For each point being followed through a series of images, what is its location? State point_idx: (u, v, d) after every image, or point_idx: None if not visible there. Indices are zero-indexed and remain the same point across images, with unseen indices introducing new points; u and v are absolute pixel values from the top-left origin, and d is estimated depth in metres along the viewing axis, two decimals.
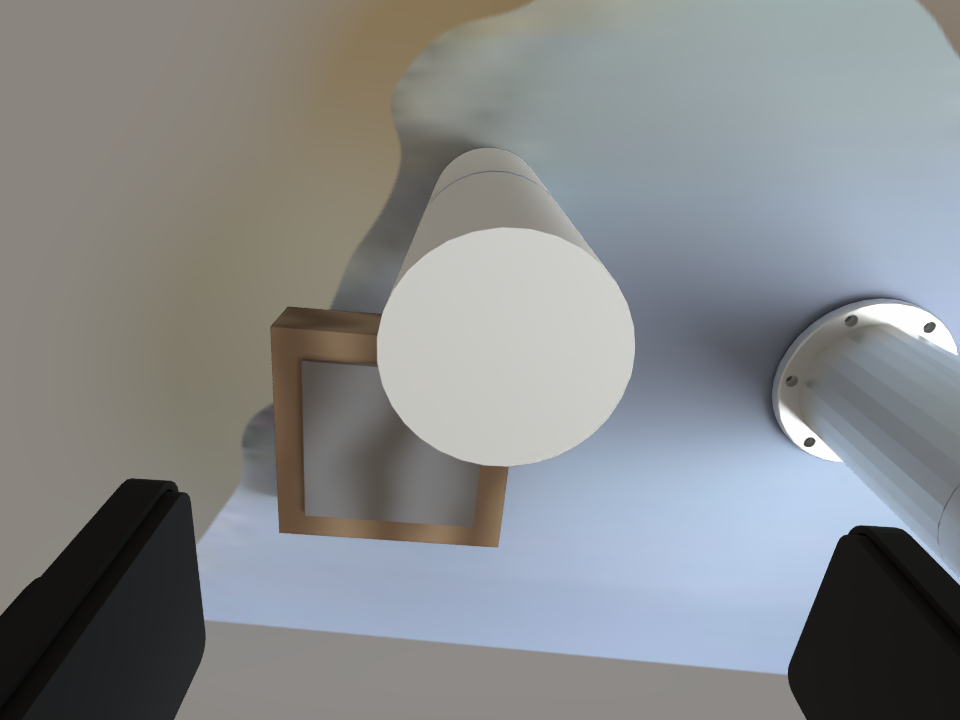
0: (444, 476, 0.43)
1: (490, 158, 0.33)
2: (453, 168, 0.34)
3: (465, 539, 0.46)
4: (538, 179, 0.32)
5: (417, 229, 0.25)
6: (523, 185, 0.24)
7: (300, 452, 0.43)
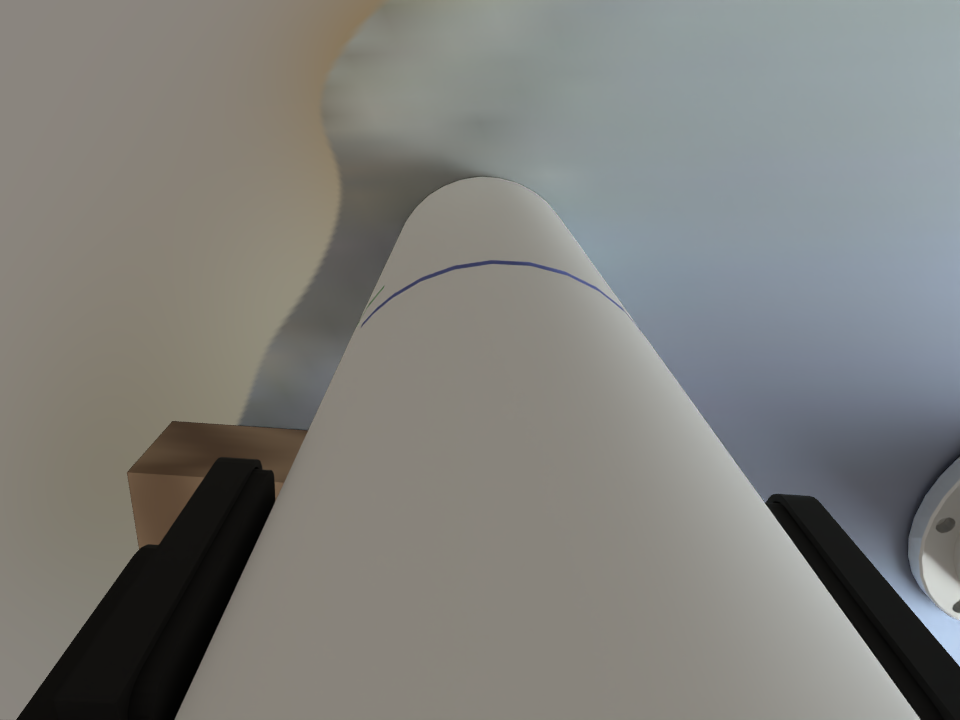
0: None
1: (489, 209, 0.17)
2: (421, 224, 0.18)
3: None
4: (580, 249, 0.17)
5: (304, 440, 0.09)
6: (584, 333, 0.09)
7: None
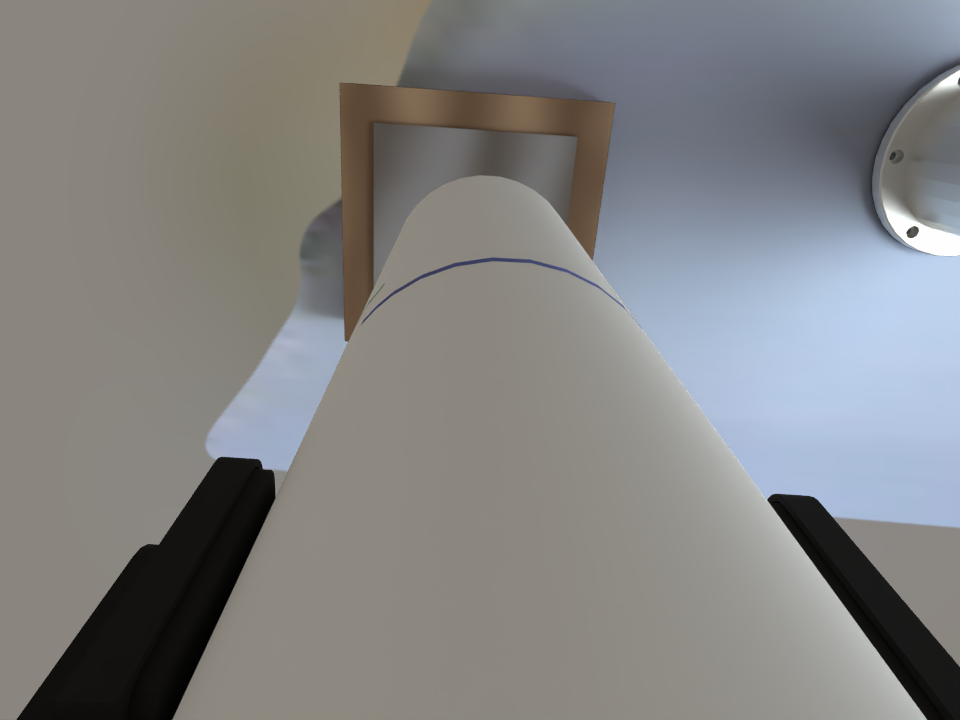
0: None
1: (489, 207, 0.17)
2: (421, 223, 0.18)
3: None
4: (581, 247, 0.17)
5: (304, 437, 0.09)
6: (585, 330, 0.09)
7: (369, 240, 0.39)
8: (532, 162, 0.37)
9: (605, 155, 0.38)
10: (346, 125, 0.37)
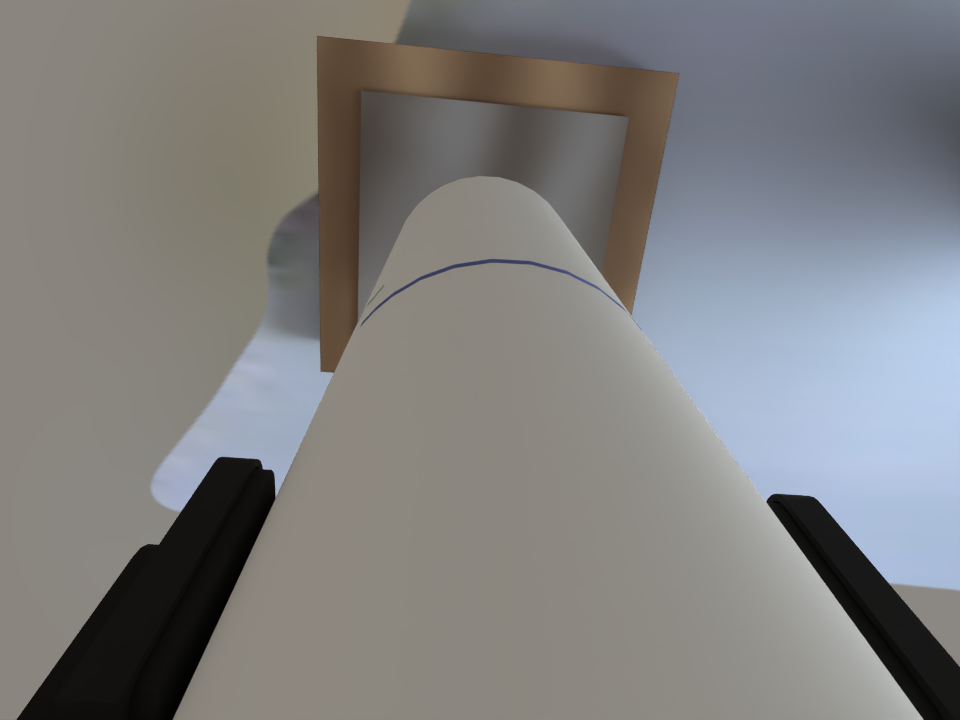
0: None
1: (489, 208, 0.17)
2: (421, 224, 0.18)
3: None
4: (580, 248, 0.17)
5: (303, 439, 0.09)
6: (585, 332, 0.09)
7: (354, 245, 0.31)
8: (568, 149, 0.29)
9: (662, 142, 0.29)
10: (325, 93, 0.28)
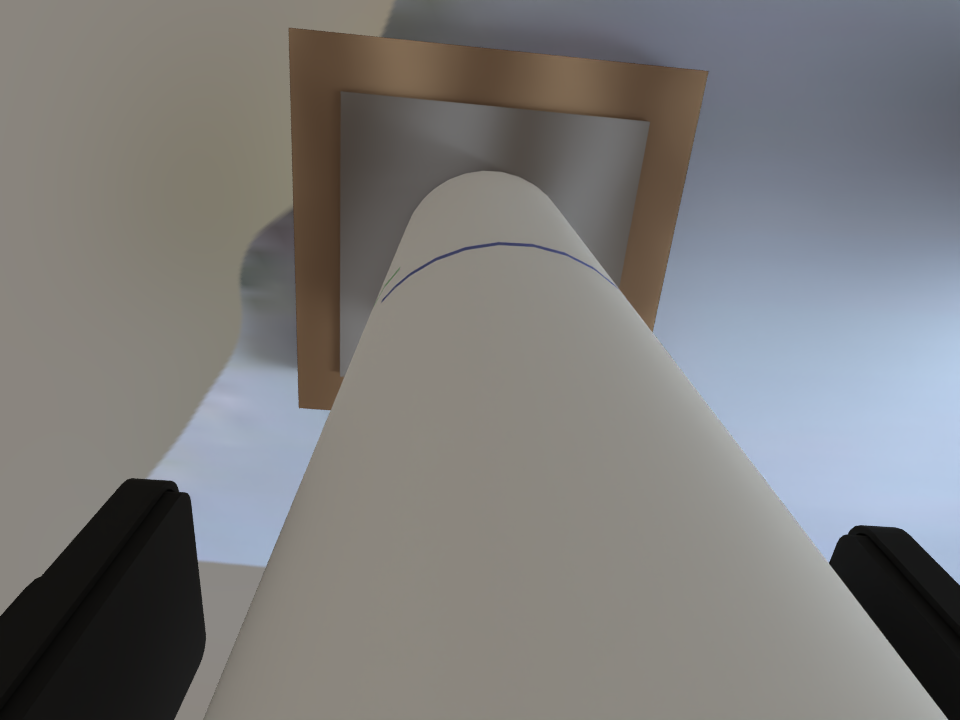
0: None
1: (494, 199, 0.19)
2: (430, 214, 0.20)
3: None
4: None
5: (338, 395, 0.11)
6: (582, 300, 0.10)
7: (334, 267, 0.27)
8: (580, 159, 0.25)
9: (688, 150, 0.25)
10: (299, 95, 0.24)
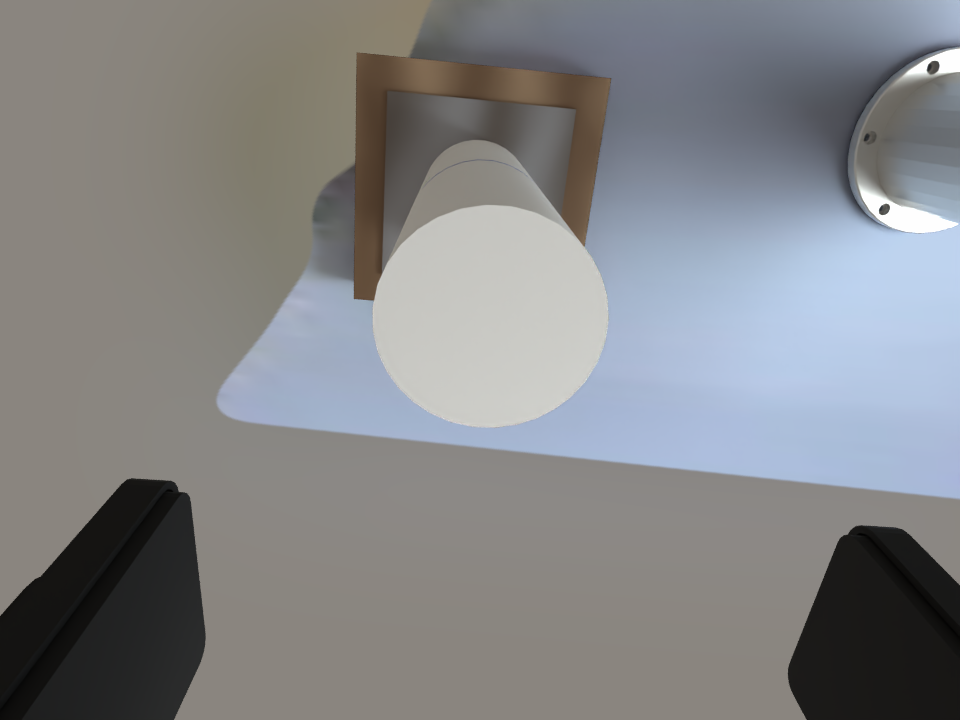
0: None
1: (478, 149, 0.34)
2: (443, 158, 0.35)
3: None
4: (524, 169, 0.34)
5: None
6: (508, 172, 0.26)
7: (380, 202, 0.42)
8: (533, 132, 0.40)
9: (601, 127, 0.41)
10: (361, 93, 0.40)
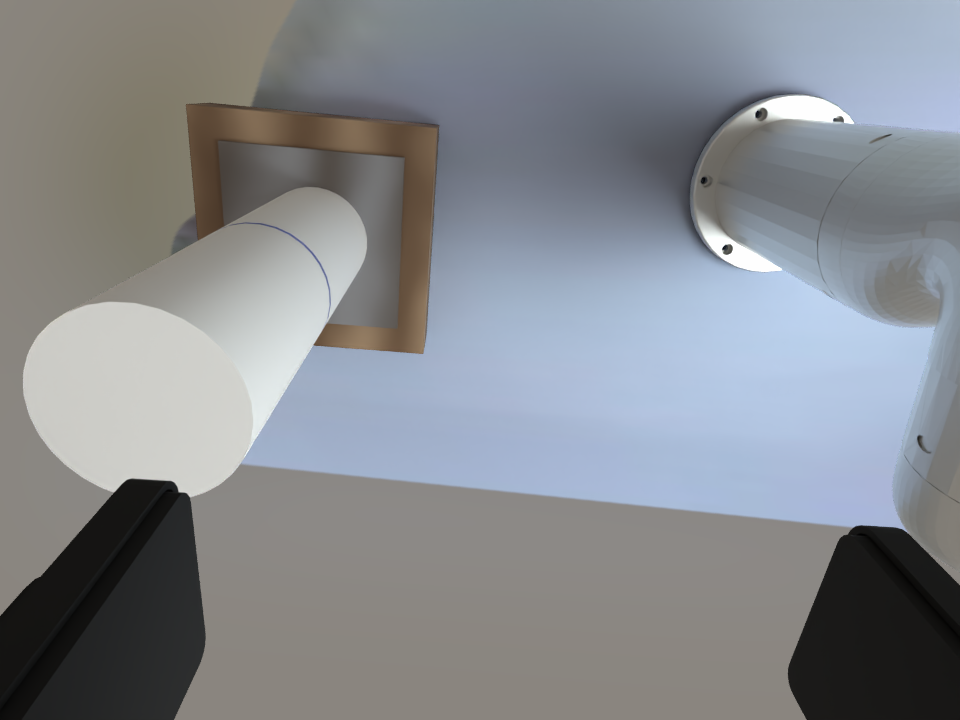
0: (365, 271, 0.44)
1: (281, 203, 0.35)
2: None
3: (390, 344, 0.47)
4: (324, 223, 0.35)
5: None
6: (247, 241, 0.27)
7: None
8: (365, 179, 0.41)
9: (432, 174, 0.42)
10: (194, 142, 0.41)
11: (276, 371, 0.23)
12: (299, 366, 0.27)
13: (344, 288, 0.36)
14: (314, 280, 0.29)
